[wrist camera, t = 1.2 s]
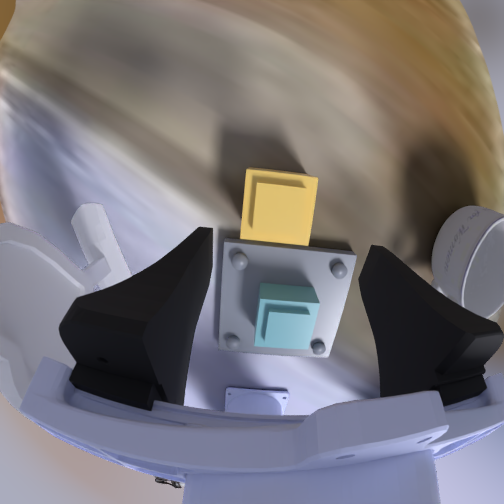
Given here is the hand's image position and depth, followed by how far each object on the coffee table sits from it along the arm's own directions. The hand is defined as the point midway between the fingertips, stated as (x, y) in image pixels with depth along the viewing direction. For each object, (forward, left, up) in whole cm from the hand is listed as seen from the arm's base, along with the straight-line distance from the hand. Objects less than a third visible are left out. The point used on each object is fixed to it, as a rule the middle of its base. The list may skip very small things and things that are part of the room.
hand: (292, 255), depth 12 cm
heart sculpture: (-7, +17, -13) cm, 22 cm away
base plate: (-9, -2, -12) cm, 16 cm away
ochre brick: (+1, 0, -12) cm, 12 cm away
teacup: (-2, -20, -13) cm, 24 cm away
